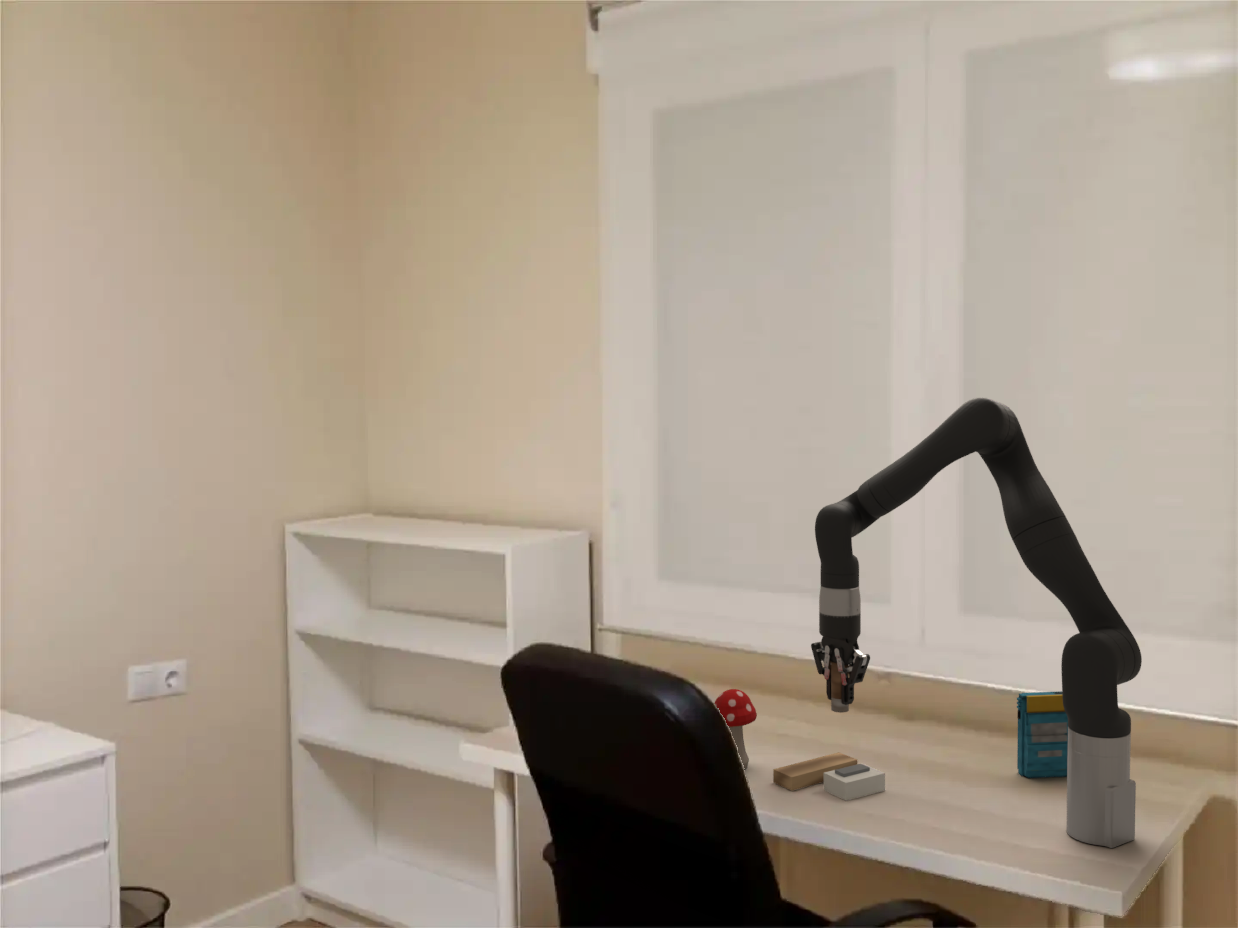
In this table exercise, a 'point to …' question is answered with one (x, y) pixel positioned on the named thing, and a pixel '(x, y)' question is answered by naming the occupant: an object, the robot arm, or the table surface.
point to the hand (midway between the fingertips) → (839, 701)
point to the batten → (810, 771)
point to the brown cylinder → (837, 690)
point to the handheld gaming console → (1042, 735)
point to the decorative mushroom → (737, 716)
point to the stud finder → (854, 781)
